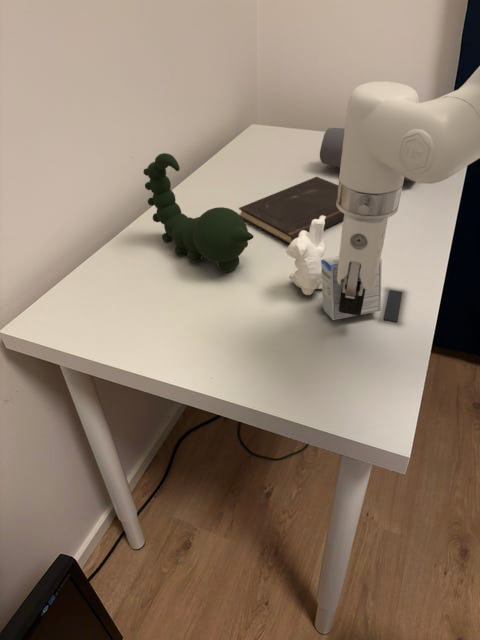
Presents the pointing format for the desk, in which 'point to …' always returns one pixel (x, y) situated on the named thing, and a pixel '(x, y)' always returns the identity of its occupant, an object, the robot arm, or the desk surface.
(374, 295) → the medicine box
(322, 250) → the white bunny figurine
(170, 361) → the desk surface
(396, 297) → the strip
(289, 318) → the desk surface
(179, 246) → the toy figurine
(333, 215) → the hardcover book
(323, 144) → the bluetooth speaker
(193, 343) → the desk surface
